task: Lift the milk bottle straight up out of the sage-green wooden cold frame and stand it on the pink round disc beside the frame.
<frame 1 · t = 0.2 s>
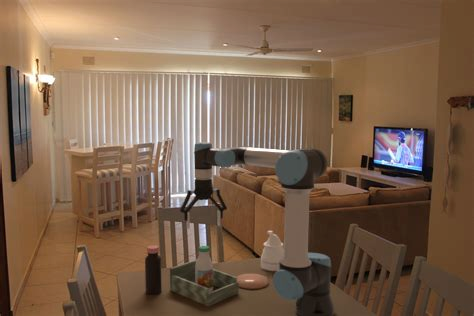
hand: (203, 226, 198), 28 cm above the table, tool pointing down, fingers open, 13 cm apart
milk bottle: (204, 292, 198), resting in cold frame
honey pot: (273, 266, 230), on the table
pink round disc: (251, 282, 208), on the table
vinegar: (153, 292, 197), on the table
cold frame: (204, 291, 198), on the table
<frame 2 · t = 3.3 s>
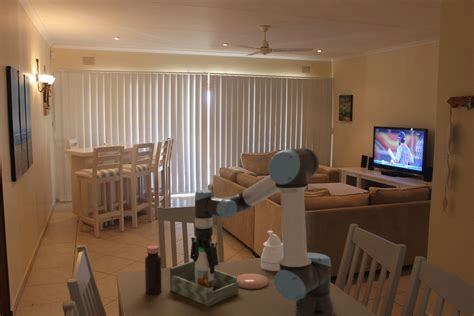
hand: (204, 278, 197), 6 cm above the table, tool pointing down, fingers closed on milk bottle, 8 cm apart
milk bottle: (204, 292, 198), resting in cold frame, touching gripper
everything else where it was.
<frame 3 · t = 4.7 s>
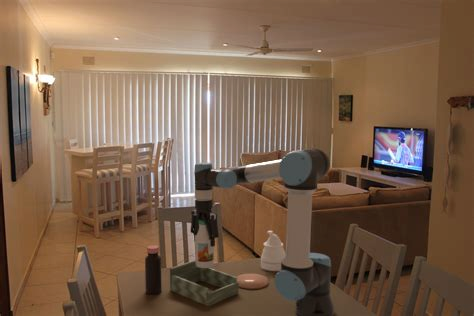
hand: (204, 251, 195), 18 cm above the table, tool pointing down, fingers closed on milk bottle, 8 cm apart
milk bottle: (204, 266, 196), point 12 cm above the table, touching gripper
everything else where it was.
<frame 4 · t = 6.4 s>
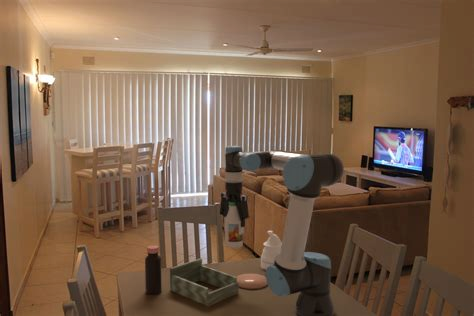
hand: (234, 232, 201), 25 cm above the table, tool pointing down, fingers closed on milk bottle, 8 cm apart
milk bottle: (234, 246, 202), point 18 cm above the table, touching gripper
everything else where it was.
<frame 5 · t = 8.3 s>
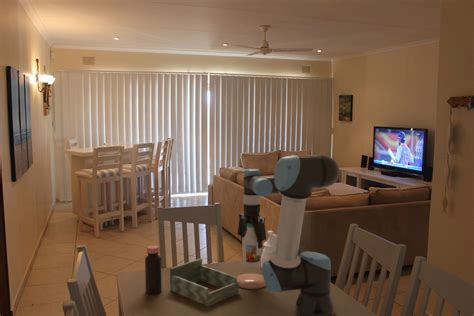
hand: (251, 252, 207), 14 cm above the table, tool pointing down, fingers closed on milk bottle, 8 cm apart
milk bottle: (251, 266, 207), point 8 cm above the table, touching gripper
everything else where it was.
when the fingers open (9 cm above the table, at t = 9.8 s): milk bottle stays where it is, resting on pink round disc.
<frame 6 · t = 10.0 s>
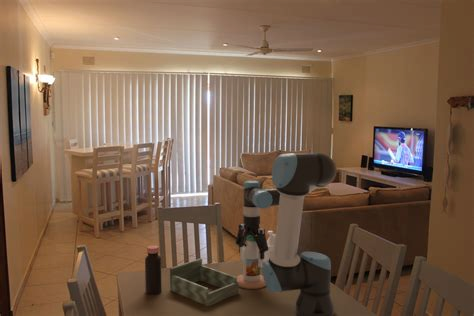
hand: (251, 262, 207), 9 cm above the table, tool pointing down, fingers open, 10 cm apart
milk bottle: (251, 279, 208), point 1 cm above the table, touching pink round disc
everything else where it was.
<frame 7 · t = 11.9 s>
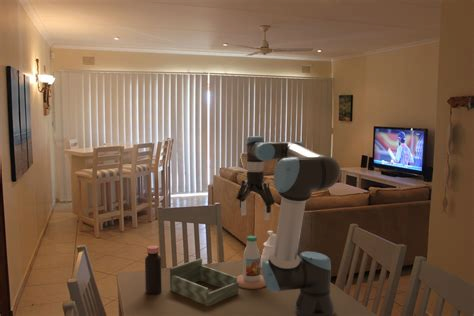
hand: (255, 217, 205), 30 cm above the table, tool pointing down, fingers open, 13 cm apart
nothing on the table moved.
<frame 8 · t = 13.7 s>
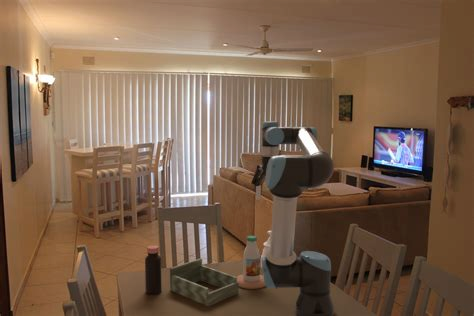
hand: (269, 201, 209), 37 cm above the table, tool pointing down, fingers open, 13 cm apart
nothing on the table moved.
at the end: milk bottle inside the target area on the pink round disc (0.1 cm from its centre), point 1.3 cm above the pink round disc's base; milk bottle tilted 0°; the gripper is holding nothing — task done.
